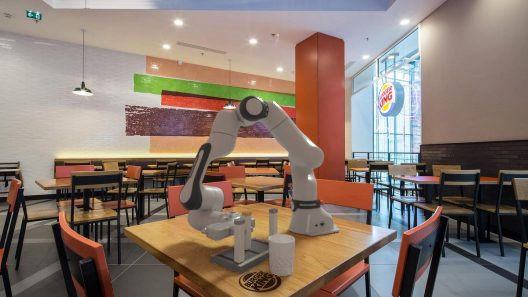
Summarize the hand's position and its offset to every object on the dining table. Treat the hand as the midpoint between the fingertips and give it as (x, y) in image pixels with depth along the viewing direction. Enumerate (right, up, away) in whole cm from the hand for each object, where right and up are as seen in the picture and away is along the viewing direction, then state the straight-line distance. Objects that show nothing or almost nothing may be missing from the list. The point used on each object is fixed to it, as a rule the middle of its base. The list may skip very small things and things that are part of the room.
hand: (248, 231), depth 89 cm
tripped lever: (-1, -6, 0) cm, 6 cm away
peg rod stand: (0, -9, 0) cm, 9 cm away
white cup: (+11, -9, -11) cm, 18 cm away
